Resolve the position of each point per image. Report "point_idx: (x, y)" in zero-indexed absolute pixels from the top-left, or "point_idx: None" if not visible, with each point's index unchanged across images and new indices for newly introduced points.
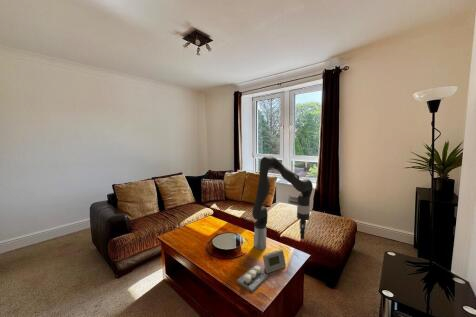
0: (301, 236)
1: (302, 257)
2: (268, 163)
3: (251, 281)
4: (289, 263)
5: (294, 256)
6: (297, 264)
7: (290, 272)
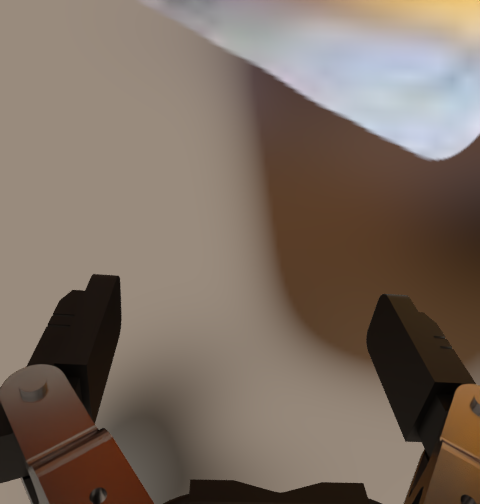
0: (50, 330)
1: (418, 131)
2: None
3: None
4: (328, 5)
5: (433, 60)
6: (322, 82)
7: (205, 13)
